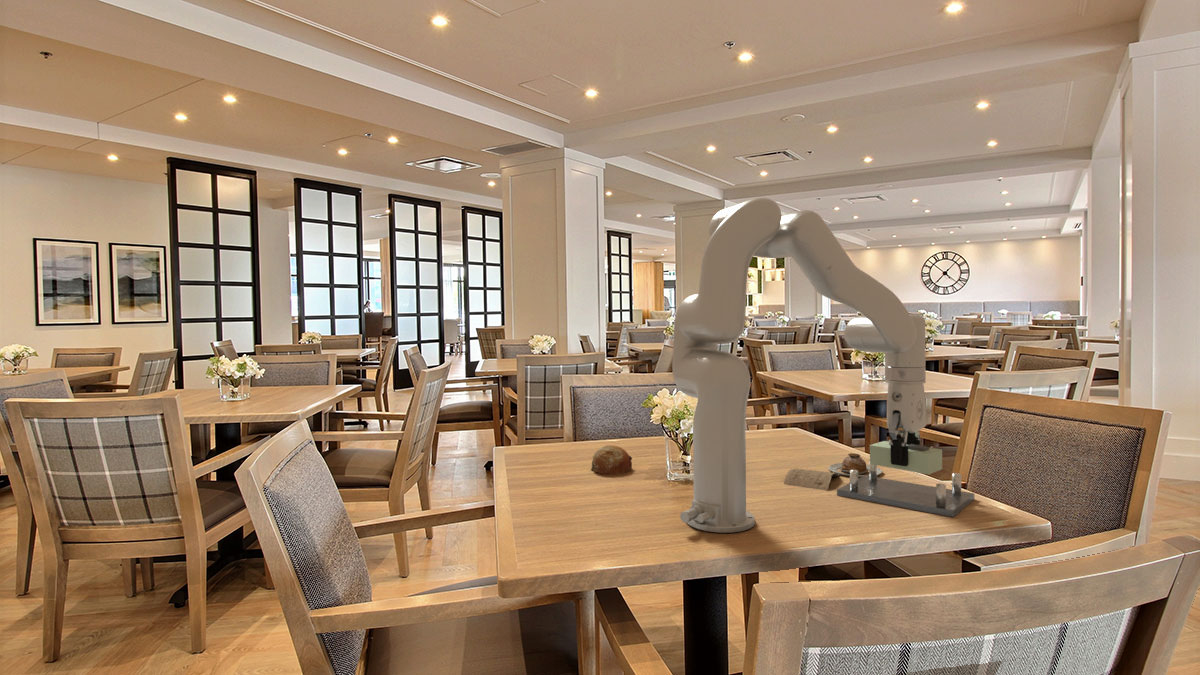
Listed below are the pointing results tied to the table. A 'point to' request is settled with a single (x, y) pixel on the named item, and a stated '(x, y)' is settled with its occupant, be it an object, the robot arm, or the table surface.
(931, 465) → the block
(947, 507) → the chassis
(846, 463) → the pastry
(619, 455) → the bread roll
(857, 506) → the table surface
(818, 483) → the curved roof tile
